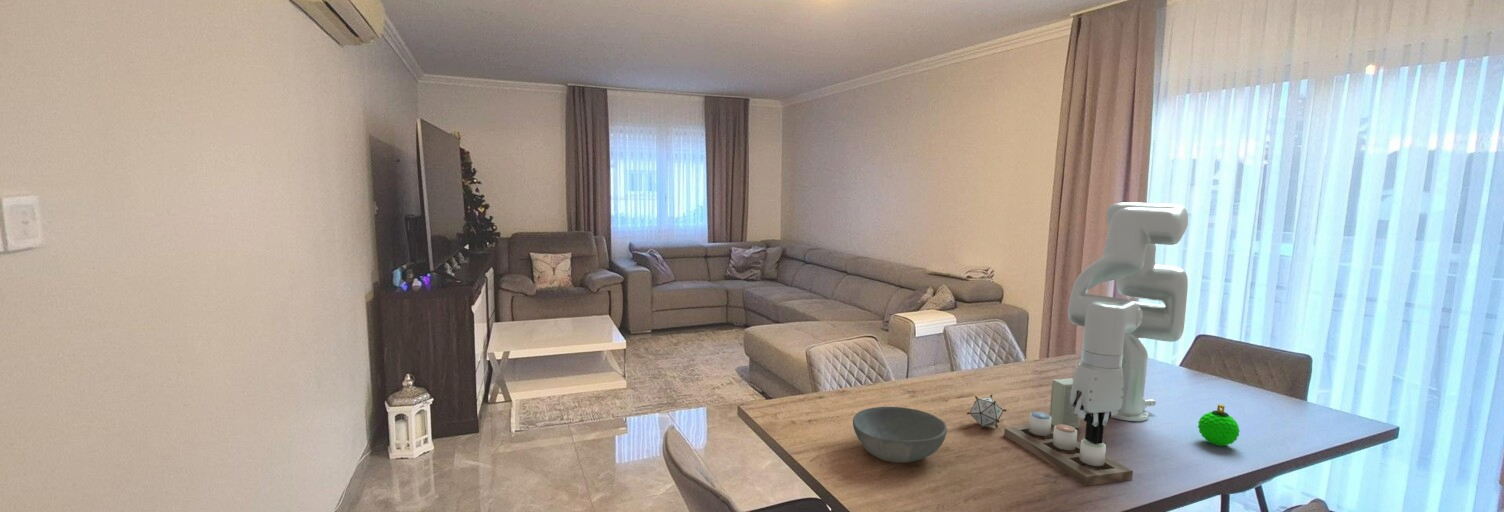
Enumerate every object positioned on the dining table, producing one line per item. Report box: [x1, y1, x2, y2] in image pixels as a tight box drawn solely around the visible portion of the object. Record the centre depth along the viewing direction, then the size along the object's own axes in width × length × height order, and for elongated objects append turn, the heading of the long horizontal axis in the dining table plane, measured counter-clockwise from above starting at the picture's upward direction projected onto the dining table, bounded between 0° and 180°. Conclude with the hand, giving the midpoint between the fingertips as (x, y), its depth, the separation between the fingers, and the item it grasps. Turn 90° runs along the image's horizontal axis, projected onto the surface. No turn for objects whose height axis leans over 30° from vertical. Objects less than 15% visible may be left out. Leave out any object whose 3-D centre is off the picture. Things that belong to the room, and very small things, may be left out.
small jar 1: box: [1028, 411, 1052, 437], centre depth 148 cm, size 5×5×4 cm
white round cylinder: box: [1079, 438, 1107, 467], centre depth 133 cm, size 5×5×4 cm
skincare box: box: [1049, 377, 1081, 429], centre depth 159 cm, size 6×4×12 cm
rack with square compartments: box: [1003, 424, 1134, 487], centre depth 141 cm, size 12×26×2 cm, turn 15°
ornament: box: [1197, 404, 1241, 447], centre depth 149 cm, size 8×8×10 cm
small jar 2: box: [1053, 424, 1078, 451], centre depth 141 cm, size 5×5×4 cm
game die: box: [966, 393, 1008, 431], centre depth 157 cm, size 9×8×10 cm
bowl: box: [852, 406, 948, 464], centre depth 139 cm, size 21×21×8 cm
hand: (1093, 441), depth 133 cm, fingers closed
